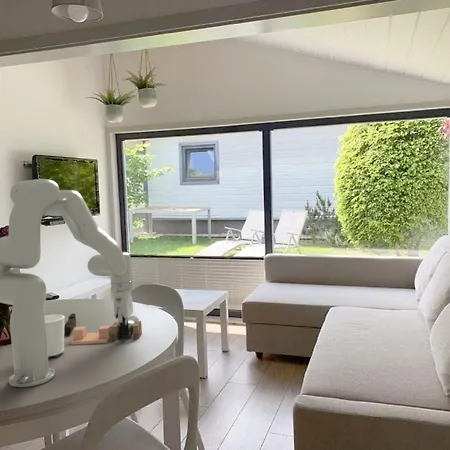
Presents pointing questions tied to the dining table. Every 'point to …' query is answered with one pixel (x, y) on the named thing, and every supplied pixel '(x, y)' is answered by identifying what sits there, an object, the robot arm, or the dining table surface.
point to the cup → (55, 334)
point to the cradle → (91, 335)
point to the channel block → (136, 330)
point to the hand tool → (69, 324)
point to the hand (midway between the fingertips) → (124, 335)
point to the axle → (131, 324)
